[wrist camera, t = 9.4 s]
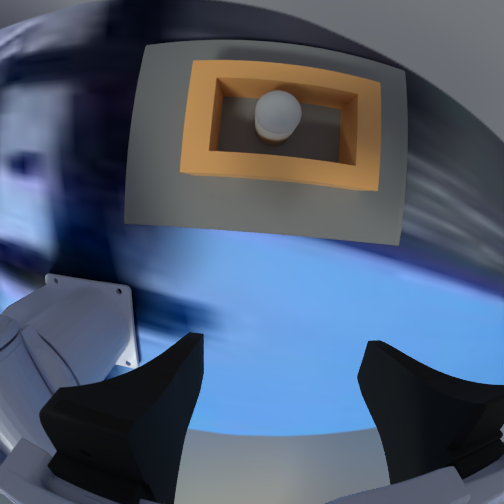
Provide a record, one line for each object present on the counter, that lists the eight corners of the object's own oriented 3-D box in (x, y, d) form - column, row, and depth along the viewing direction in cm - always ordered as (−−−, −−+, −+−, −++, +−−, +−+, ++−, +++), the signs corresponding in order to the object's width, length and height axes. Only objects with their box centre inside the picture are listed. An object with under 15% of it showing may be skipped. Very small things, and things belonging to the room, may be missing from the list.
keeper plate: (129, 222, 19) (85, 235, 13) (150, 50, 16) (118, 13, 10) (392, 243, 19) (438, 263, 13) (399, 74, 16) (439, 46, 10)
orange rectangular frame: (193, 175, 18) (179, 172, 14) (203, 81, 16) (193, 60, 13) (356, 190, 18) (377, 191, 14) (360, 98, 16) (380, 82, 13)
